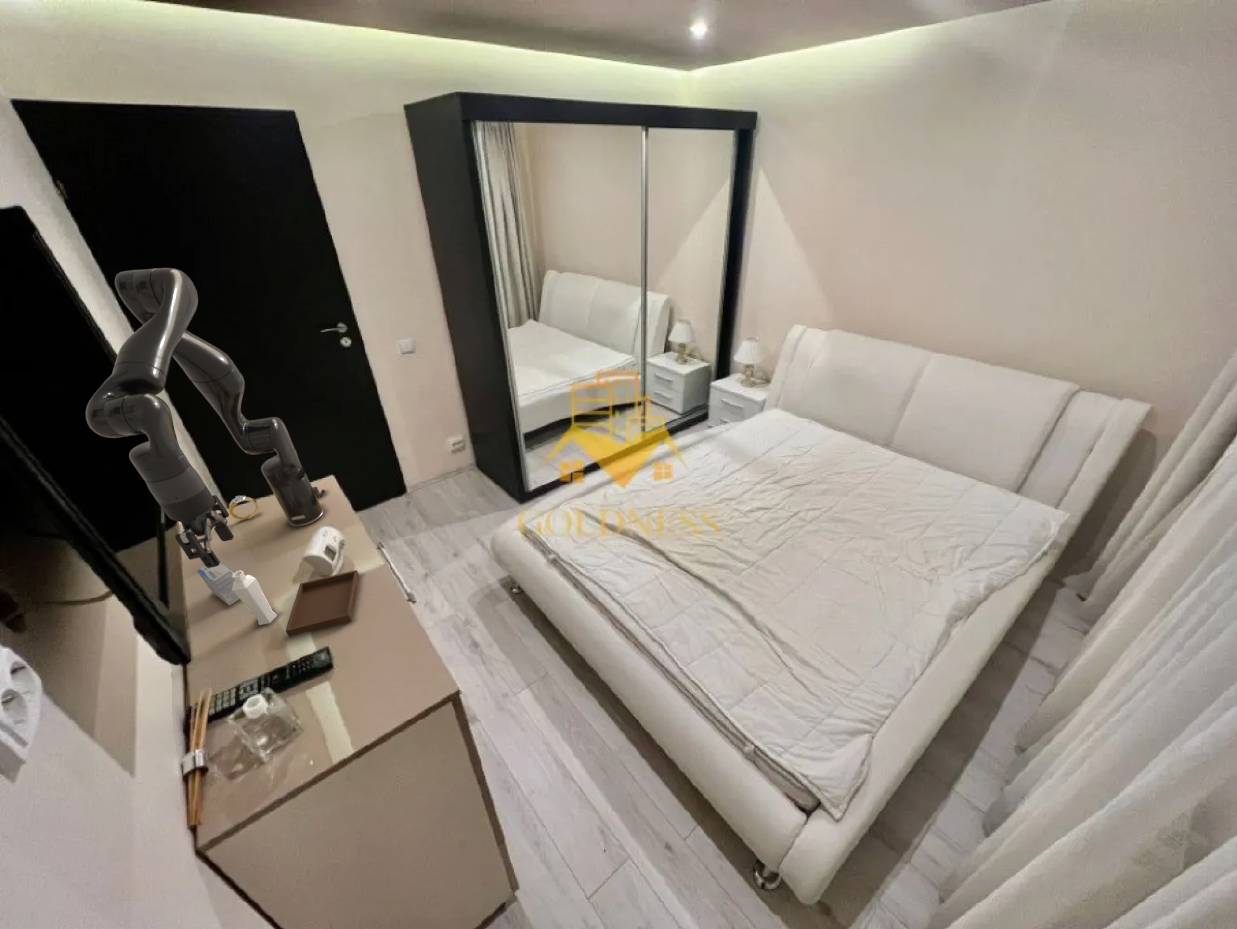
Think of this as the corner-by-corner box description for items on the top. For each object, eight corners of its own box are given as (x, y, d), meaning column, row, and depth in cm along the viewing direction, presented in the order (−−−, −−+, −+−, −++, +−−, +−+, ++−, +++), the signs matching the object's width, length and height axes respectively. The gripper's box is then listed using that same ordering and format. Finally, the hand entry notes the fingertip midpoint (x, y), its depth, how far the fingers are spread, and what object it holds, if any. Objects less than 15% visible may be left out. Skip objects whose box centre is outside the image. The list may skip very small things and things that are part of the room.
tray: (303, 589, 121) (300, 583, 120) (359, 575, 124) (356, 569, 123) (289, 637, 109) (285, 631, 108) (351, 620, 112) (348, 614, 111)
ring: (262, 510, 149) (250, 490, 145) (263, 516, 147) (251, 495, 143) (236, 519, 146) (223, 499, 142) (236, 525, 144) (223, 504, 140)
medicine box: (248, 594, 120) (231, 569, 116) (229, 606, 117) (211, 582, 113) (232, 583, 124) (216, 558, 119) (213, 594, 121) (195, 570, 116)
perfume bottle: (251, 622, 113) (220, 577, 105) (270, 609, 116) (241, 564, 108) (263, 629, 111) (231, 584, 103) (281, 615, 114) (252, 571, 106)
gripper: (188, 507, 88) (230, 570, 97) (216, 468, 100) (252, 527, 108) (139, 517, 86) (187, 580, 95) (174, 475, 98) (213, 535, 107)
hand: (221, 552), depth 102 cm, fingers open, 8 cm apart
